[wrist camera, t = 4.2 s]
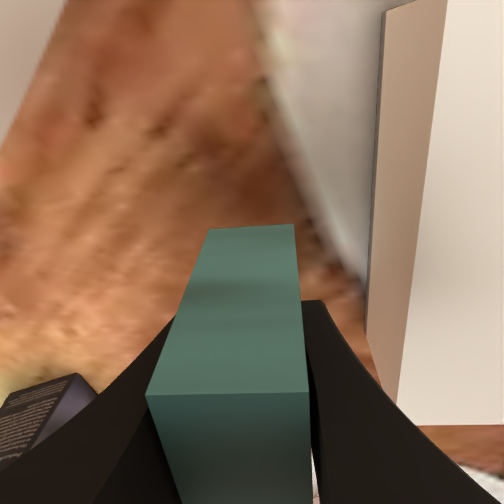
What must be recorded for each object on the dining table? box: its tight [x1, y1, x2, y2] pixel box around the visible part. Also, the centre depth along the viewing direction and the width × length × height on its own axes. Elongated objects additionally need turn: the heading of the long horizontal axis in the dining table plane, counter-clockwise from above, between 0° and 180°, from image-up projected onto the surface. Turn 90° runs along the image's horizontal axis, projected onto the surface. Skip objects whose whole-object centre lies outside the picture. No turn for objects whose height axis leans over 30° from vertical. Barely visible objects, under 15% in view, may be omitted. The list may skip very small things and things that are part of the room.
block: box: [145, 224, 313, 504], centre depth 9 cm, size 4×2×6 cm, turn 6°
